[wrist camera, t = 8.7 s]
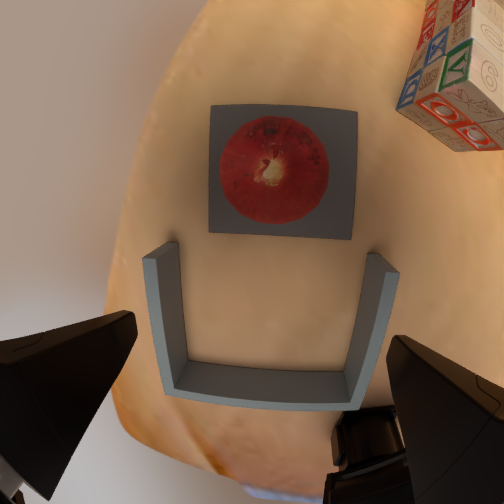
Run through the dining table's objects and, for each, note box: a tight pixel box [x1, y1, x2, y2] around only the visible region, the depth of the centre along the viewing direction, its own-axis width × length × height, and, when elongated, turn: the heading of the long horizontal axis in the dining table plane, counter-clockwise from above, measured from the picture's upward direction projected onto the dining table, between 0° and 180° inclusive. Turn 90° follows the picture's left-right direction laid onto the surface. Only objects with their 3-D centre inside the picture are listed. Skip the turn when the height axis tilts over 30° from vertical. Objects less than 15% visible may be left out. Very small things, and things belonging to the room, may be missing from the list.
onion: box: [220, 116, 330, 224], centre depth 14 cm, size 6×6×8 cm
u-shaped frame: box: [142, 242, 400, 411], centre depth 19 cm, size 16×12×4 cm
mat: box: [209, 104, 358, 240], centre depth 18 cm, size 10×9×1 cm
